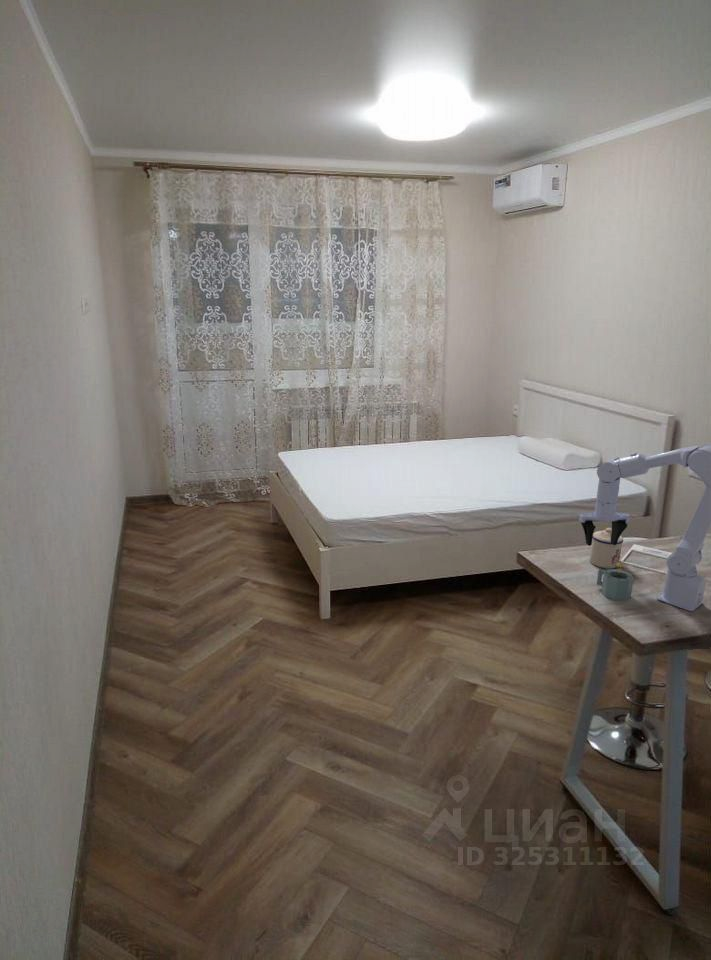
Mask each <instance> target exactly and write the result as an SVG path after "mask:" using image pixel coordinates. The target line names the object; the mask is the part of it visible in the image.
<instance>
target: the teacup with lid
mask: <svg viewBox="0 0 711 960" xmlns="http://www.w3.org/2000/svg"><path fill="white" fill-rule="evenodd" d="M611 533H612V527H606V528H605V529H604V530H598V531H594V533H593V537H592V544H591V548H590V556H589V562H590V563H591V564H592V565H593V564H594V565H593V566H595V565H596V566H595V567H599V568H603V569H617V567H616V566H615V564H616V562H617V561H621V553H622V548H623V547H622V546H623V543H624V538H623V536H622V535H620V537H619V539H618V541H617V544H616V545H613V544H612V543H611Z"/></svg>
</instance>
